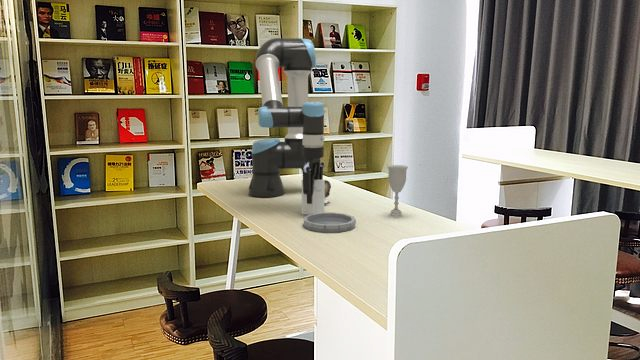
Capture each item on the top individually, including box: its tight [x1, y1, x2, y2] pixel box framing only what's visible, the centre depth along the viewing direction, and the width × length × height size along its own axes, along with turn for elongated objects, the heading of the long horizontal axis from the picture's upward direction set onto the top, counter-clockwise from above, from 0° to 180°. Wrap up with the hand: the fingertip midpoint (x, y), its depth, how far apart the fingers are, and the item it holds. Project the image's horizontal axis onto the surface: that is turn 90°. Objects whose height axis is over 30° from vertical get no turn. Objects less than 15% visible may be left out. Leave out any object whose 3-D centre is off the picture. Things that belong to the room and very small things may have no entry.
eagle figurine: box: [324, 179, 332, 205], centre depth 207 cm, size 8×7×9 cm
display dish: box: [302, 212, 357, 234], centre depth 176 cm, size 17×17×2 cm
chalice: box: [387, 164, 409, 219], centre depth 187 cm, size 7×7×18 cm
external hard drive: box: [301, 179, 326, 215], centre depth 191 cm, size 2×8×12 cm, turn 92°
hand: (312, 210), depth 192 cm, fingers closed on external hard drive, 3 cm apart
